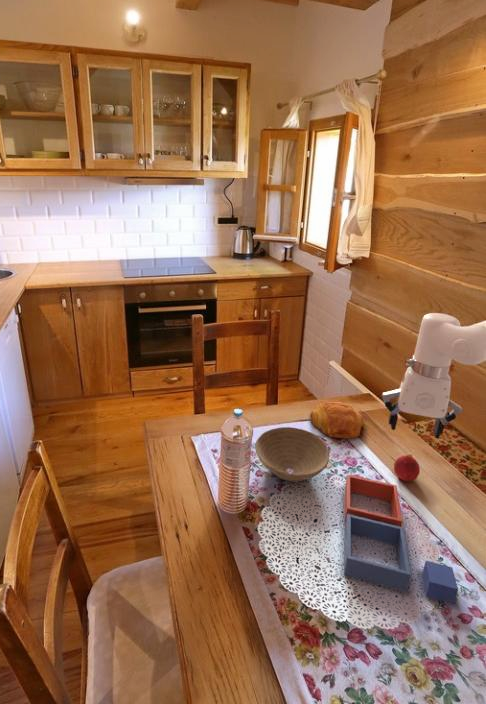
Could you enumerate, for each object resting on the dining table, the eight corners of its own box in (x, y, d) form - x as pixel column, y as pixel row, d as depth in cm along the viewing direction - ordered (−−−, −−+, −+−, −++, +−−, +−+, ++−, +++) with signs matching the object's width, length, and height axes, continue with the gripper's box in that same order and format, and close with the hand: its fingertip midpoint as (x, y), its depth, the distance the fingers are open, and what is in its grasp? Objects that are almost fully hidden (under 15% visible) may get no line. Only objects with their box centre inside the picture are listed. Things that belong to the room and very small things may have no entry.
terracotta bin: (392, 502, 95) (396, 485, 93) (398, 540, 85) (402, 521, 84) (344, 491, 98) (347, 474, 96) (343, 526, 88) (347, 508, 86)
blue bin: (398, 546, 84) (403, 527, 82) (405, 595, 74) (411, 575, 72) (343, 532, 87) (347, 513, 85) (343, 577, 77) (347, 557, 75)
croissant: (309, 417, 131) (308, 395, 129) (359, 417, 129) (359, 394, 126) (313, 444, 118) (312, 420, 115) (369, 444, 115) (369, 419, 113)
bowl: (238, 473, 103) (239, 446, 100) (279, 441, 116) (282, 417, 113) (301, 513, 91) (304, 485, 88) (339, 473, 104) (344, 447, 101)
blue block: (446, 584, 76) (452, 567, 75) (452, 607, 72) (458, 589, 71) (420, 577, 77) (425, 560, 76) (424, 599, 73) (430, 581, 72)
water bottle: (232, 490, 97) (237, 398, 89) (253, 506, 93) (261, 411, 84) (211, 504, 93) (214, 410, 84) (233, 522, 88) (238, 424, 80)
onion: (420, 489, 100) (427, 462, 97) (397, 488, 100) (403, 461, 97) (410, 472, 105) (416, 447, 102) (388, 471, 105) (393, 446, 102)
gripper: (390, 368, 91) (376, 432, 97) (477, 382, 86) (457, 448, 92) (387, 354, 97) (375, 415, 103) (467, 366, 93) (449, 429, 99)
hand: (413, 430), depth 98 cm, fingers open, 9 cm apart
